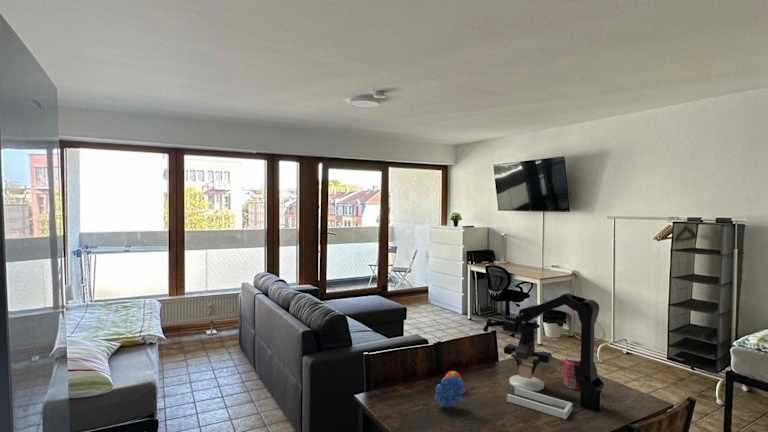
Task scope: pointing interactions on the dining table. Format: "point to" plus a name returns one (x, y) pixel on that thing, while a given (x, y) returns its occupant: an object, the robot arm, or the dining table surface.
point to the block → (526, 370)
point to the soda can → (570, 372)
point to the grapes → (449, 391)
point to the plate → (526, 383)
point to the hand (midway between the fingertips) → (526, 373)
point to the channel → (555, 408)
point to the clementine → (453, 374)
